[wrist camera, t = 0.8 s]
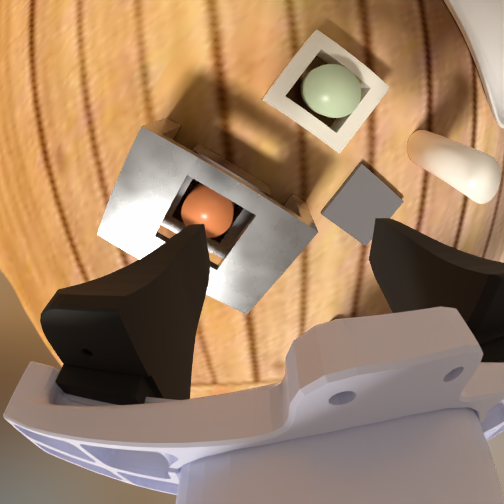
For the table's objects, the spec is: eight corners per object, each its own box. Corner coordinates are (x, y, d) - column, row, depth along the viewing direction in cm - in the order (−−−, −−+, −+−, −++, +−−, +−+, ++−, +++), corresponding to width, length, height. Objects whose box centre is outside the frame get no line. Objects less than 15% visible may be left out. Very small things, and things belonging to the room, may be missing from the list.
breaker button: (244, 196, 20) (243, 207, 18) (219, 232, 22) (216, 246, 20) (202, 171, 19) (196, 180, 17) (179, 210, 21) (172, 222, 19)
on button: (360, 88, 16) (371, 88, 14) (332, 125, 17) (340, 128, 16) (319, 56, 15) (326, 52, 13) (290, 95, 16) (294, 95, 15)
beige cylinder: (442, 146, 19) (506, 178, 12) (422, 172, 20) (481, 213, 13) (420, 122, 18) (487, 144, 11) (400, 149, 19) (460, 182, 12)
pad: (401, 199, 21) (403, 201, 21) (364, 243, 23) (365, 246, 23) (360, 162, 20) (361, 163, 20) (320, 212, 22) (321, 214, 22)
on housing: (377, 87, 17) (390, 87, 15) (331, 147, 19) (339, 154, 18) (310, 35, 15) (316, 29, 13) (261, 99, 18) (262, 100, 16)
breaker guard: (305, 201, 22) (318, 231, 17) (248, 274, 25) (246, 314, 21) (167, 117, 18) (141, 126, 14) (124, 205, 22) (96, 234, 18)
